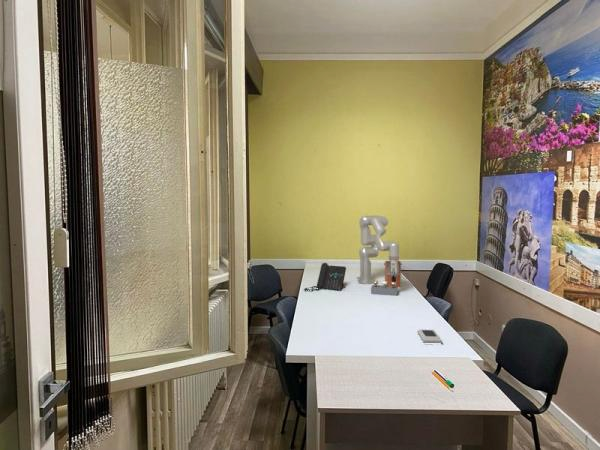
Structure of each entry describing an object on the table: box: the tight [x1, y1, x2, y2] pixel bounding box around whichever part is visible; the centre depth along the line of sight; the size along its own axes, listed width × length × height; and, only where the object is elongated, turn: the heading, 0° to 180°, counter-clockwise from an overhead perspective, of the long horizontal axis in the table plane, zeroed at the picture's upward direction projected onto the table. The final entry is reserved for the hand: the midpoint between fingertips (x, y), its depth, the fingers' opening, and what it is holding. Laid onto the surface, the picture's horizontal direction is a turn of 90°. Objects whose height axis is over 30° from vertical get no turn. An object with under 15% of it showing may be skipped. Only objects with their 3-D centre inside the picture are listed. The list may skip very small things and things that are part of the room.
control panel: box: [383, 260, 403, 288], centre depth 337 cm, size 21×7×15 cm
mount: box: [370, 284, 399, 296], centre depth 315 cm, size 20×10×5 cm, turn 74°
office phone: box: [303, 262, 347, 292], centre depth 330 cm, size 29×28×20 cm
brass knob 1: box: [372, 279, 379, 287], centre depth 316 cm, size 4×4×6 cm
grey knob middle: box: [381, 280, 387, 288], centre depth 314 cm, size 4×4×6 cm
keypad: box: [417, 328, 443, 344], centre depth 218 cm, size 10×4×15 cm
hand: (393, 281), depth 312 cm, fingers closed
